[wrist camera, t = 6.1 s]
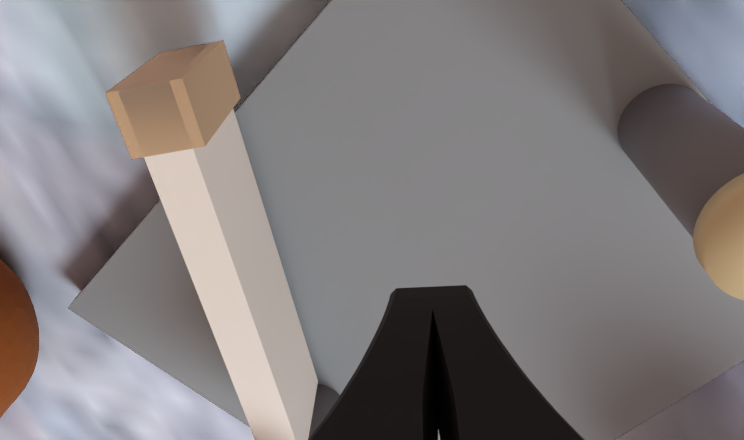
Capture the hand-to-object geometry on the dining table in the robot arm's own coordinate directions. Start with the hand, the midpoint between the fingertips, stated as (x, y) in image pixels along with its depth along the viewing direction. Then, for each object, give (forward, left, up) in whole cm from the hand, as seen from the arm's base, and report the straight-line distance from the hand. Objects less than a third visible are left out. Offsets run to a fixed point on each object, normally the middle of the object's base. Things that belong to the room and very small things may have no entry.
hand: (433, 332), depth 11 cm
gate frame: (-4, +3, -9) cm, 11 cm away
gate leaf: (+2, +6, -8) cm, 10 cm away
